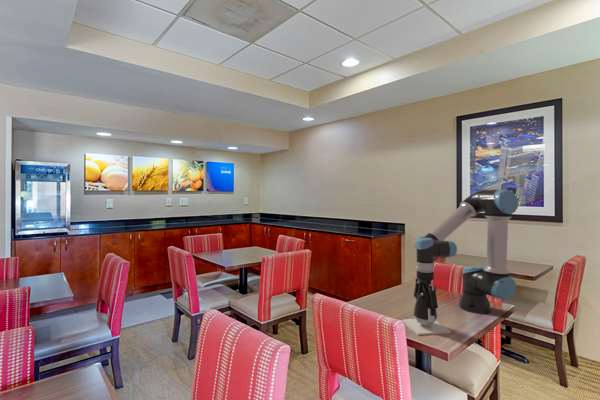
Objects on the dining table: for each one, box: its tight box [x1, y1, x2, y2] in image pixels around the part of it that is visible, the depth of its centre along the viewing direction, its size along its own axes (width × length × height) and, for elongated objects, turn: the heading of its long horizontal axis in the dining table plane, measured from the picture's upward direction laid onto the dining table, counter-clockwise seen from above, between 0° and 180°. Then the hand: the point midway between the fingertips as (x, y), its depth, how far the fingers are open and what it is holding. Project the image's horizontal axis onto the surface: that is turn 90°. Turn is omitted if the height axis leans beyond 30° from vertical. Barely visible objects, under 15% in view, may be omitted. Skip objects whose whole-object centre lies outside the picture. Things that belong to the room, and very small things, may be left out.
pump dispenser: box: [413, 291, 438, 325], centre depth 151 cm, size 10×10×15 cm
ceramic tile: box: [401, 318, 452, 336], centre depth 151 cm, size 16×16×1 cm
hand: (425, 317), depth 151 cm, fingers closed on pump dispenser, 10 cm apart
